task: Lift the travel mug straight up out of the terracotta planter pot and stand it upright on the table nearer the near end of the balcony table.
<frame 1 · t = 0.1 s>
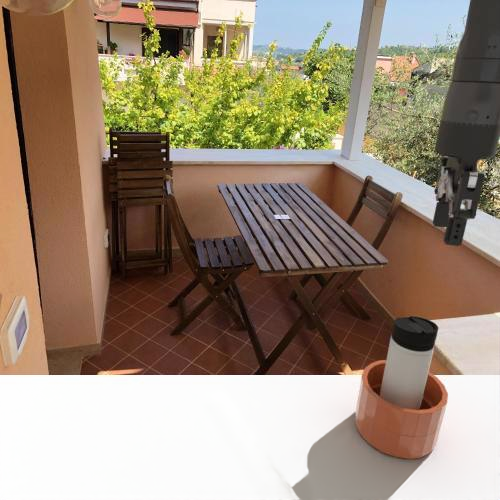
hand: (445, 234, 62), 33 cm above the table, tool pointing down, fingers open, 8 cm apart
travel mug: (394, 427, 70), resting on planter
planter: (394, 428, 71), on the table
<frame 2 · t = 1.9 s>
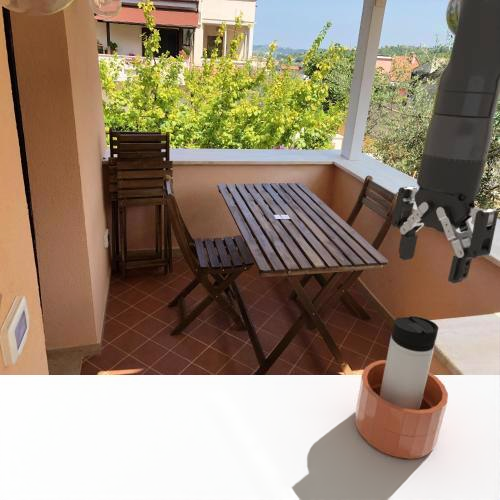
hand: (429, 269, 60), 29 cm above the table, tool pointing down, fingers open, 8 cm apart
nothing on the table moved.
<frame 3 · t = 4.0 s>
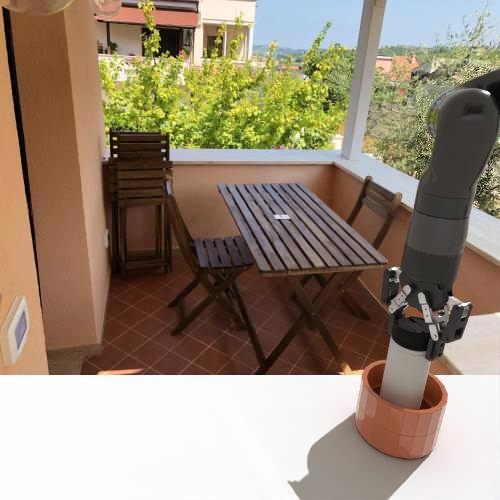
hand: (412, 345, 65), 16 cm above the table, tool pointing down, fingers closed on travel mug, 6 cm apart
travel mug: (394, 427, 70), resting on planter, touching gripper
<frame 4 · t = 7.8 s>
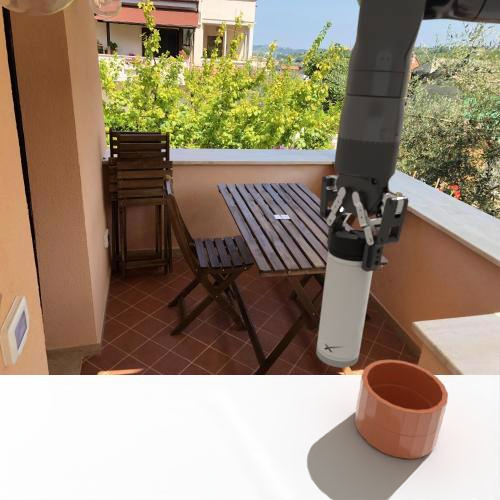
hand: (351, 259, 58), 30 cm above the table, tool pointing down, fingers closed on travel mug, 6 cm apart
travel mug: (337, 357, 64), point 14 cm above the table, touching gripper
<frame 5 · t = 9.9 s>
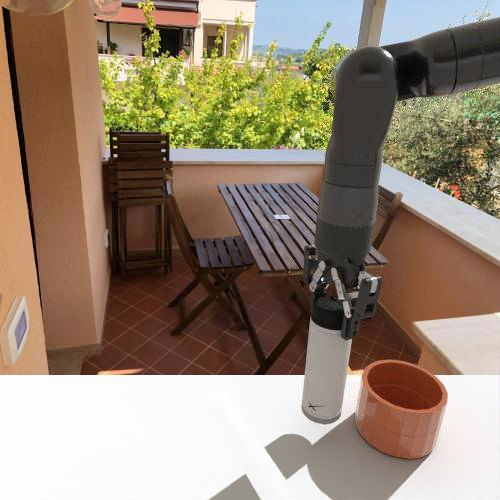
hand: (332, 325, 62), 20 cm above the table, tool pointing down, fingers closed on travel mug, 6 cm apart
travel mug: (321, 412, 68), point 4 cm above the table, touching gripper
when the fingers open (16 cm above the table, at t = 11.6 s): travel mug stays where it is, on the table.
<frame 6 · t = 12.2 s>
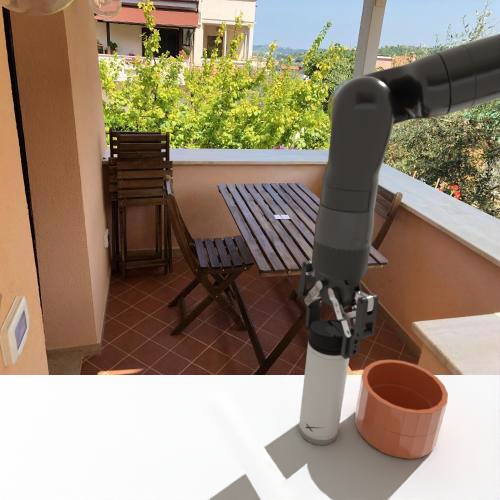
hand: (329, 340, 63), 17 cm above the table, tool pointing down, fingers open, 8 cm apart
travel mug: (318, 432, 69), on the table
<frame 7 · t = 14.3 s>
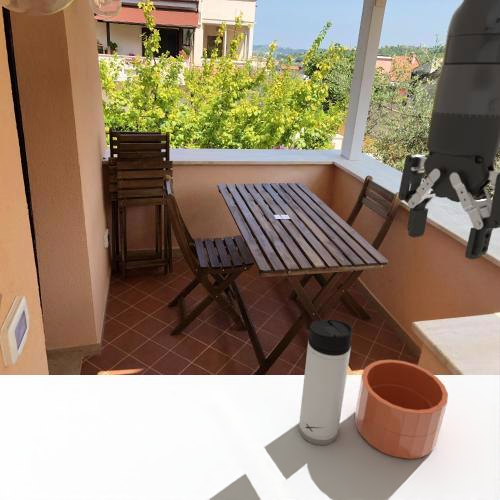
hand: (442, 246, 53), 34 cm above the table, tool pointing down, fingers open, 8 cm apart
nothing on the table moved.
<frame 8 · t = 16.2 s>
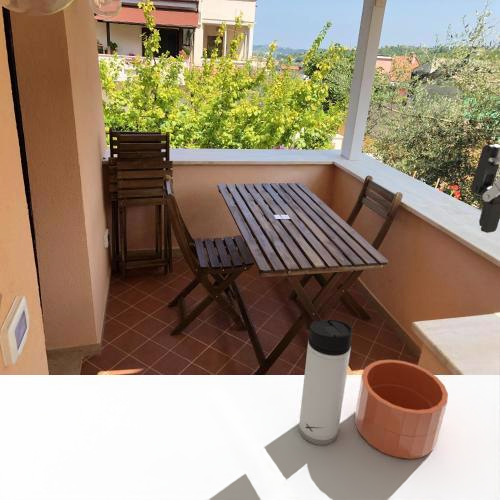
nothing on the table moved.
at the end: travel mug inside the target area (0.1 cm from its centre), on the table; travel mug tilted 0°; the gripper is holding nothing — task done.
